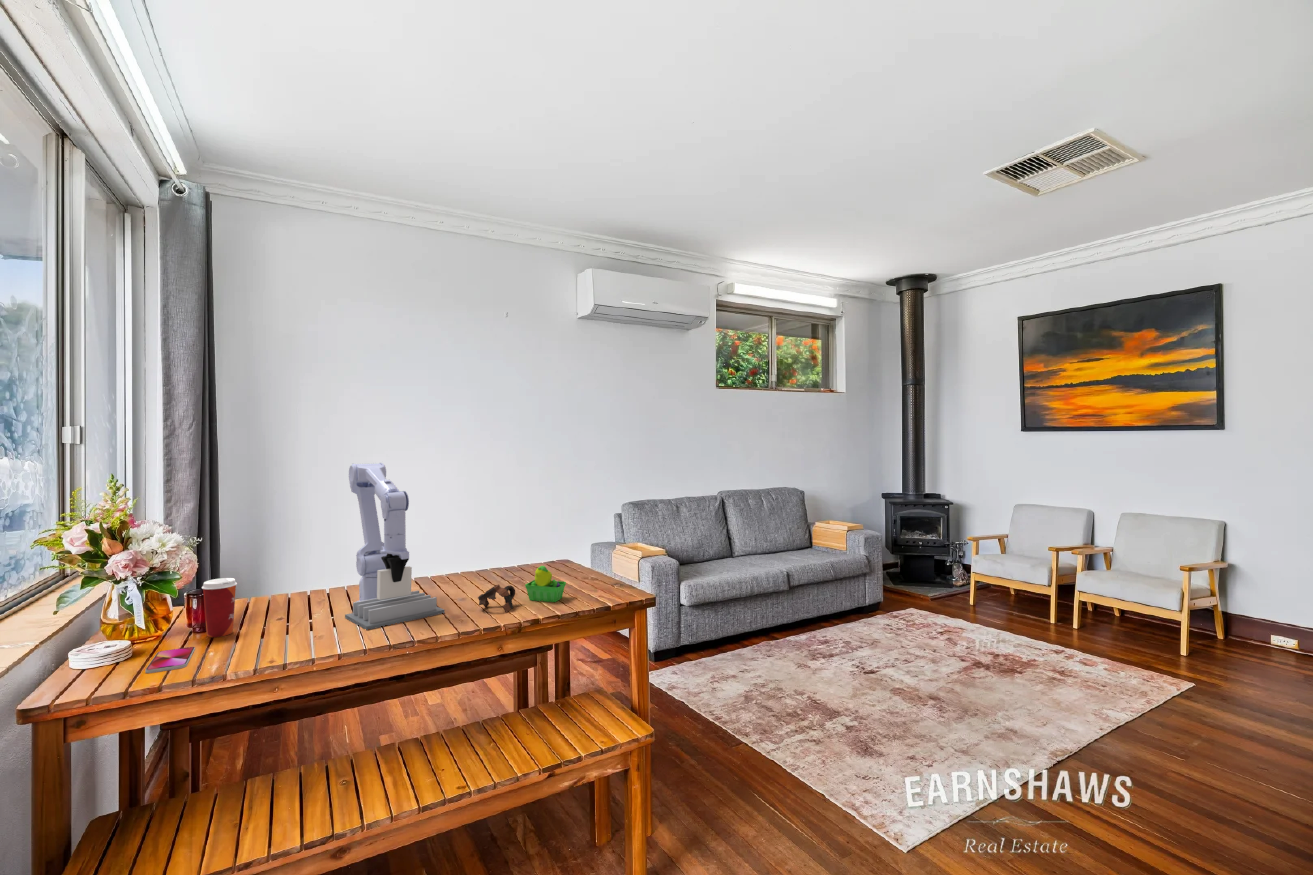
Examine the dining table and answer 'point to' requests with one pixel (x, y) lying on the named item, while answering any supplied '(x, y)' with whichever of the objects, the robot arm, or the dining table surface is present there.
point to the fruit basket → (544, 587)
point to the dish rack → (393, 610)
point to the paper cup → (219, 606)
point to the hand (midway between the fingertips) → (395, 580)
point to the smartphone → (170, 660)
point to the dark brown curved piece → (502, 592)
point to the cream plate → (393, 584)
